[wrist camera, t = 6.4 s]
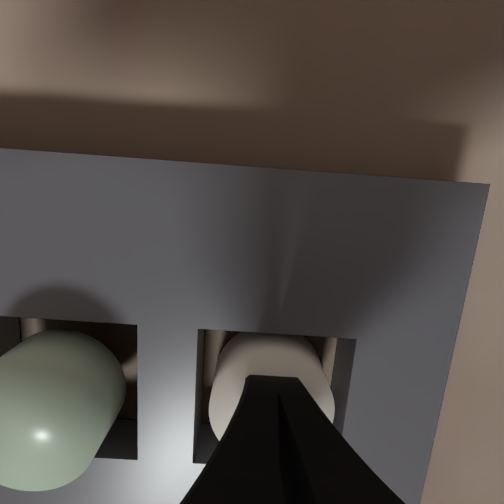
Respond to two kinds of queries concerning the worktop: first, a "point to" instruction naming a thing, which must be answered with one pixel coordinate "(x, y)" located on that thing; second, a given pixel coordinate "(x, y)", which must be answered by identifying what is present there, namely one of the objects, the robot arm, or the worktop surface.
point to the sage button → (55, 407)
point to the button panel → (240, 296)
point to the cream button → (264, 372)
